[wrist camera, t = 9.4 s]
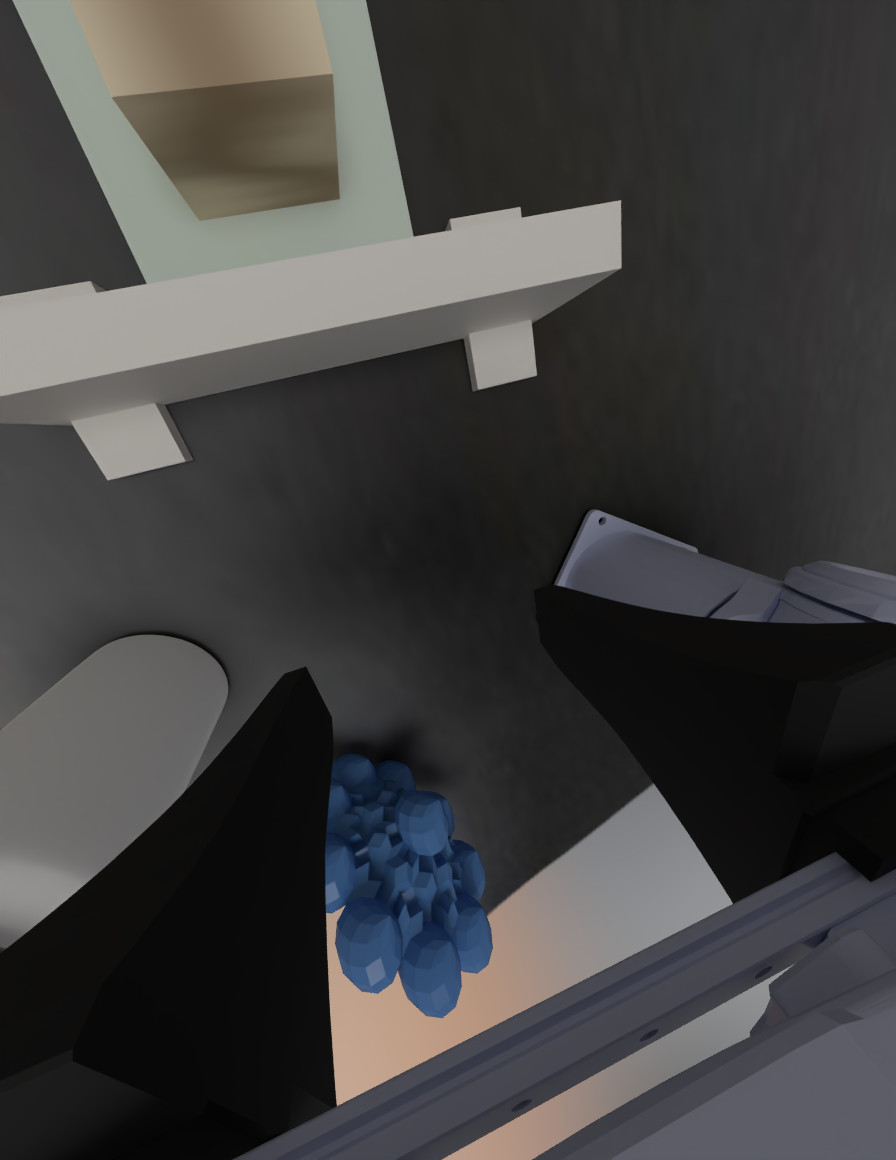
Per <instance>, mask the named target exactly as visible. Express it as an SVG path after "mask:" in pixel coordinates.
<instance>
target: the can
mask: <svg viewBox="0 0 896 1160" xmlns="http://www.w3.org/2000/svg"><path fill="white" fill-rule="evenodd" d="M227 696H228V682H227V678H226V675H225V673H224V671H223V669H222V667H221V666H220V665H219V663H218V662H217V661H216V660H215V659H214V658H213V657H212V656H211V655H210V654H208V653H207V652H206V651H204V650H203V649H201V648H200V647H198V646H196V645H194V644H192V643H190V642H187V641H184V640H181V639H178V638H173V637H169V636H162V635H136V636H130V637H125V638H121V639H118V640H115V641H113V642H110V643H108V644H106V645H105V646H103V647H101V648H100V649H98V650H97V651H95V652H94V653H93V654H92V655H90V656H89V657H88V658H87V659H85V660H84V661H83V662H82V663H80V664H79V665H78V666H77V667H76V668H74V669H73V670H72V671H71V672H69V673H68V674H67V675H66V676H65V677H63V678H62V679H61V680H60V681H59V682H57V683H56V684H55V685H54V686H53V687H51V688H50V689H49V690H48V691H47V692H45V693H44V694H43V695H42V696H41V697H39V698H38V699H37V700H36V701H35V702H33V703H32V704H31V705H30V706H29V707H27V708H26V709H25V710H24V711H23V712H21V713H20V714H19V715H18V716H17V717H15V718H14V719H13V720H12V721H11V722H9V723H8V724H7V725H6V726H5V727H3V728H2V729H1V730H0V953H1V952H2V951H4V950H5V949H6V948H8V947H9V946H10V945H12V944H13V943H14V942H15V941H17V940H18V939H19V938H20V937H22V936H23V935H24V934H25V933H27V932H28V931H29V930H30V929H32V928H33V927H34V926H35V925H37V924H38V923H39V922H40V921H42V920H43V919H44V918H45V917H46V916H48V915H49V914H50V913H51V912H52V911H54V910H55V909H56V908H57V907H58V906H60V905H61V904H62V903H63V902H65V901H66V900H67V899H68V898H69V897H71V896H72V895H73V894H74V893H75V892H77V891H78V890H79V889H80V888H81V887H82V886H84V885H85V884H86V883H87V882H88V881H89V880H91V879H92V878H93V877H94V876H95V875H96V874H98V873H99V872H100V871H101V870H102V869H103V868H104V867H106V866H107V865H108V864H109V863H110V862H111V861H112V860H113V859H115V858H116V857H117V856H118V855H119V854H120V853H121V852H122V851H123V850H124V849H125V848H126V847H128V846H129V845H130V844H131V843H132V842H133V841H134V840H135V839H136V838H137V837H138V836H139V835H141V834H142V833H143V832H144V831H145V830H146V829H147V828H148V827H149V826H150V825H151V824H152V823H154V822H155V821H156V820H157V819H158V818H159V817H160V816H161V815H162V814H163V813H164V812H165V811H166V810H167V809H168V808H169V807H170V806H171V805H172V804H173V803H174V802H175V801H176V800H177V799H178V798H179V797H180V796H181V795H182V794H183V793H184V791H185V789H186V787H187V785H188V783H189V781H190V779H191V776H192V774H193V772H194V770H195V768H196V766H197V764H198V762H199V759H200V757H201V755H202V753H203V751H204V749H205V747H206V744H207V742H208V740H209V738H210V736H211V734H212V732H213V729H214V727H215V725H216V723H217V721H218V719H219V716H220V714H221V712H222V710H223V707H224V705H225V703H226V700H227Z"/></svg>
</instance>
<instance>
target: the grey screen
mask: <svg viewBox="0 0 896 1160" xmlns="http://www.w3.org/2000/svg"><path fill="white" fill-rule="evenodd" d="M619 269H621V200H620V201H615V202H609V203H603V204H598V205H592V206H586V207H581V208H575V209H569V210H564V211H558V212H552V213H547V214H541V215H535V216H530V217H524V218H521V209H520V207H518V208H512V209H507V210H501V211H495V212H489V213H483V214H477V215H472V216H466V217H460V218H454V219H450V220H449V223H448V225H447V227H446V229H445V232H439V233H433V234H428V235H422V236H417V237H411V238H405V239H400V240H394V241H388V242H383V243H377V244H371V245H366V246H360V247H354V248H349V249H343V250H337V251H332V252H326V253H320V254H315V255H309V256H303V257H298V258H292V259H286V260H281V261H275V262H269V263H264V264H258V265H252V266H247V267H241V268H235V269H230V270H224V271H218V272H213V273H207V274H201V275H196V276H190V277H184V278H179V279H173V280H167V281H162V282H156V283H150V284H145V285H139V286H133V287H128V288H122V289H117V290H111V291H106V290H105V289H103V288H101V287H99V286H98V285H96V284H94V283H93V282H91V281H88V282H82V283H76V284H71V285H65V286H59V287H53V288H47V289H41V290H36V291H30V292H24V293H18V294H12V295H7V296H1V297H0V423H15V424H44V425H73V426H74V428H75V430H76V431H77V433H78V434H79V436H80V437H81V439H82V441H83V442H84V444H85V445H86V447H87V448H88V450H89V452H90V453H91V455H92V456H93V458H94V459H95V461H96V463H97V464H98V466H99V467H100V469H101V470H102V472H103V474H104V475H105V477H106V478H107V480H112V479H117V478H122V477H126V476H130V475H134V474H138V473H142V472H146V471H151V470H155V469H159V468H163V467H167V466H171V465H175V464H179V463H183V462H187V461H191V460H193V458H192V456H191V454H190V452H189V450H188V448H187V447H186V445H185V443H184V441H183V439H182V437H181V435H180V433H179V431H178V429H177V427H176V425H175V423H174V421H173V420H172V418H171V416H170V414H169V412H168V410H167V408H166V406H165V405H166V404H170V403H175V402H179V401H184V400H188V399H193V398H197V397H202V396H206V395H211V394H215V393H220V392H224V391H229V390H233V389H238V388H243V387H247V386H252V385H256V384H261V383H265V382H270V381H274V380H279V379H283V378H288V377H292V376H297V375H301V374H306V373H310V372H315V371H319V370H324V369H328V368H333V367H337V366H342V365H346V364H351V363H355V362H360V361H364V360H369V359H373V358H378V357H382V356H387V355H391V354H396V353H400V352H405V351H409V350H414V349H418V348H423V347H427V346H432V345H436V344H441V343H445V342H450V341H454V340H459V339H463V338H464V344H465V349H466V355H467V361H468V367H469V373H470V379H471V384H472V390H473V391H477V390H481V389H486V388H490V387H494V386H498V385H502V384H506V383H510V382H514V381H518V380H522V379H526V378H530V377H533V376H536V375H537V372H536V362H535V352H534V342H533V332H532V323H534V322H536V321H537V320H539V319H540V318H542V317H544V316H545V315H547V314H548V313H550V312H552V311H553V310H555V309H556V308H558V307H560V306H561V305H563V304H564V303H566V302H568V301H569V300H571V299H573V298H574V297H576V296H577V295H579V294H581V293H582V292H584V291H585V290H587V289H589V288H590V287H592V286H593V285H595V284H597V283H598V282H600V281H601V280H603V279H605V278H606V277H608V276H609V275H611V274H613V273H614V272H616V271H618V270H619Z"/></svg>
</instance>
